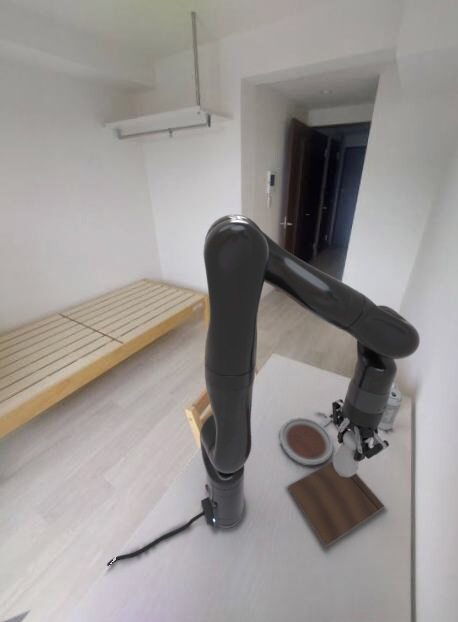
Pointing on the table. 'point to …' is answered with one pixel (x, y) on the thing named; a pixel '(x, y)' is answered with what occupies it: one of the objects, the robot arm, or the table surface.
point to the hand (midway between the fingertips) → (349, 449)
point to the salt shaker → (346, 456)
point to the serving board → (334, 503)
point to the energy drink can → (391, 410)
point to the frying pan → (307, 440)
